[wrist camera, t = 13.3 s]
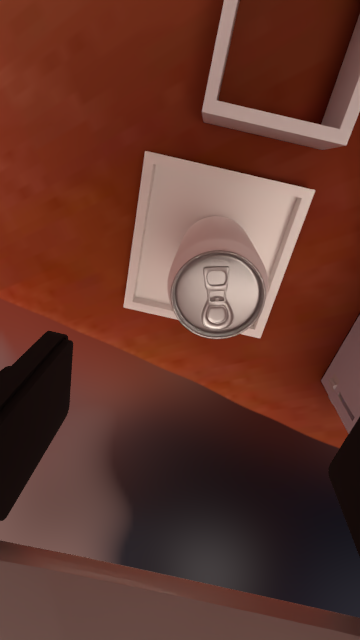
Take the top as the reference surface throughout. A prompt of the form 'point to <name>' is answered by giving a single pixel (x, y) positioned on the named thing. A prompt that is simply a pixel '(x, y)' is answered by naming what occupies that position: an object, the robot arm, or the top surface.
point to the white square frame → (342, 111)
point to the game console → (346, 378)
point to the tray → (200, 202)
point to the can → (217, 279)
